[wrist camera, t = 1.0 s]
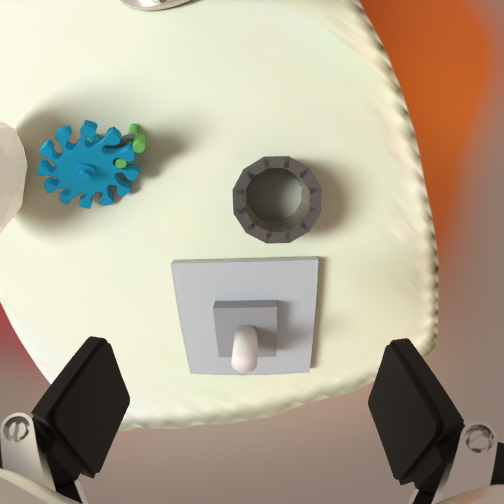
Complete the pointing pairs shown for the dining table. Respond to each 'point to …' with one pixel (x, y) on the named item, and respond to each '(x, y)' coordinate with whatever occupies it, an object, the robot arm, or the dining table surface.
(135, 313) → the dining table surface
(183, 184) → the dining table surface
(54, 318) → the dining table surface
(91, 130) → the gear
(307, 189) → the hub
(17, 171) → the geometric sphere
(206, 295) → the shaft stand
